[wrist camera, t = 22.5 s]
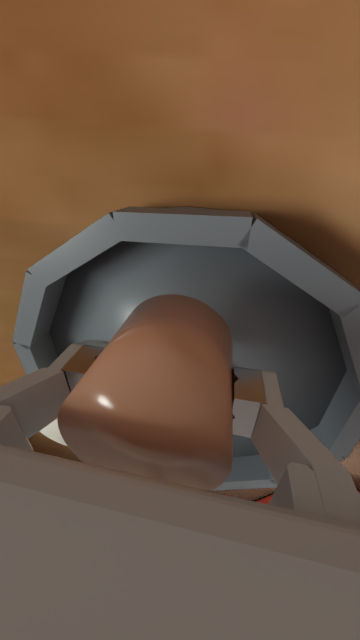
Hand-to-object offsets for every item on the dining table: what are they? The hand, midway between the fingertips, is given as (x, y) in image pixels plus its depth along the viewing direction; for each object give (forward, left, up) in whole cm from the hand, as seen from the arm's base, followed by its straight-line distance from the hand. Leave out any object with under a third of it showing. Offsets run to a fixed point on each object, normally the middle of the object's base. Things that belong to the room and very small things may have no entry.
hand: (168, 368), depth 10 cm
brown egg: (0, 0, -2) cm, 2 cm away
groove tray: (-6, 0, -6) cm, 9 cm away
